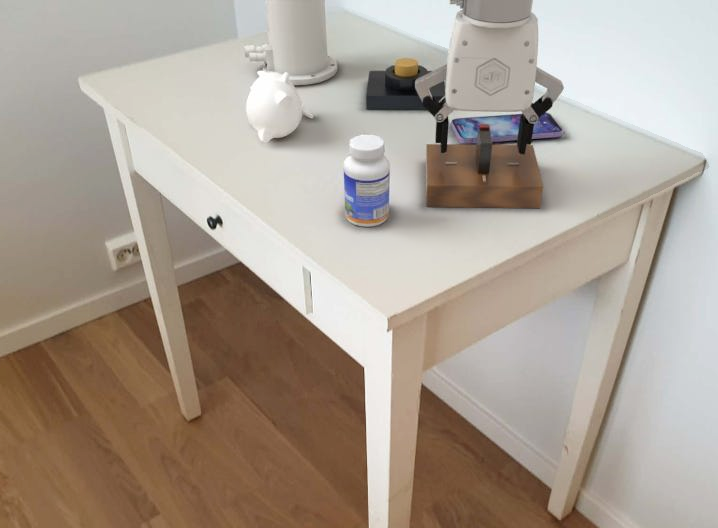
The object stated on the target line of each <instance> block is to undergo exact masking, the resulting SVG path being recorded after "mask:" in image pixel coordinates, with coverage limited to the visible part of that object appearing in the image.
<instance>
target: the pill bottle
mask: <svg viewBox="0 0 718 528" xmlns="http://www.w3.org/2000/svg"><path fill="white" fill-rule="evenodd" d="M348 146H349V147H348V153H349V155H348V156H347V157H346V158H345V160H344V162H343V185H344V186H343V189H344V192H343V193H344V214H345V218H346V220H347V221H348V222H349V223H350V224H352V225H354V226H358V227H363V228H364V227H365V228H366V227H367V228H370V227H376V226H380V225H382V224H383V223H385V222H386V221H387V220H388V218H389V217H390V179H391V178H390V176H391V164H390V160H389V158H388V157H387V156H386V155H385V141H384V139H383V138H382V137H381V136H378V135H375V134H359V135H355V136H353V137H352V138H351V139H350V140H349V143H348Z"/></svg>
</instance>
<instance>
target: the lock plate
mask: <svg viewBox="0 0 718 528" xmlns="http://www.w3.org/2000/svg"><path fill="white" fill-rule="evenodd" d="M476 146H477V144H463V143H460V144H455V143H453V144H449V143H447V152H445V153H441V144H440V143H427V144H426V147H425V206H426V207H427V208H486V209H487V208H489V209H490V208H491V209H494V208H495V209H497V208H498V209H540V208H541V205H542V197H543V191H544V183H543V180H542V175H541V172H540V168H539V164H538V159H537V155H536V152H535V147H534V145H533V144H531V145H526V151H525V154H520V153H519V151H518V146H517V144H492V151H491V160H490V170H489V173H478V170H477V161H476Z"/></svg>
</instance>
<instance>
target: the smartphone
mask: <svg viewBox="0 0 718 528" xmlns="http://www.w3.org/2000/svg"><path fill="white" fill-rule="evenodd" d="M521 115H522V113H511V114H510V113H509V114H498V115H484V116H471V117H457V118H453V119H452V120H451V121H450V122H451V123H450V127H451V130H452V131H453V133H454V135H455V136H456V138H457V140H458V141H459V142H460V144H463V145H473V144H477V135H478V125H480V124H489V126H490V132H491V138H492V143H496V142H497V143H498V142H510V141H517V138H518V131H519V124H520V116H521ZM563 132H564V129H563V127H562V126H561V125H560V124H559V123H558V121H557V120H556V119H555V118H554V116H553V115H552V114H551V113H549V112H546V113H544V114H543V115H542V116H541V117H539V118H538V121H537V122H536V123H534V129H533V135H532V140H534V139H550V138H560V137H562V136H563Z"/></svg>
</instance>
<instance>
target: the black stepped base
mask: <svg viewBox="0 0 718 528" xmlns="http://www.w3.org/2000/svg"><path fill="white" fill-rule="evenodd" d="M432 71H433V70H428V69H427V68H426V67H424V66H423V65H420V64H418V74H417V75H415V76H410V77H402V76H397V75H395V64H392V65H390V66H388V67H387V68H385V70H369V71H368V80H367V87H366V93H365V103H366V104H365V110H366V111H368V110H369V111H371V110H373V111H375V110H377V111H378V110H379V111H381V110H383V111H387V110H389V111H393V110H394V111H399V110H400V111H428V110H427V109H426V108H425V107H424V106H423V103H422V101H421V99H420V97H419V95H418V93H417V91H416V89H415V81H416V79H418V78H420V77H422V76H424V75H426V74H428V73H430V72H432ZM429 90H430V93H431V94H432V95H433V96H434V97H435V98H436V100H437V101H438V102H439V101H440V100H441V99H442V98H443V97H444V96H445V81H443V82H441V83H439V84H437V85H435V86H433V87H431V88H430V89H429Z"/></svg>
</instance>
